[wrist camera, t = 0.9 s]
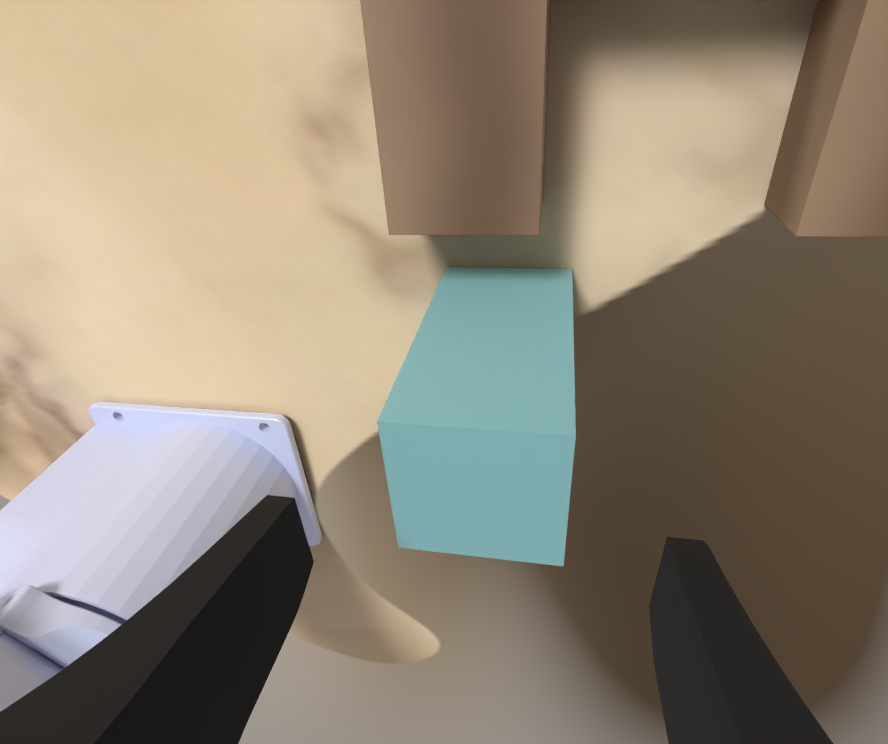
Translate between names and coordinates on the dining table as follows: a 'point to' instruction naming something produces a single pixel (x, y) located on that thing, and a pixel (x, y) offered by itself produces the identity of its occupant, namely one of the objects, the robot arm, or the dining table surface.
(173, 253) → the dining table surface
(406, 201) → the u-shaped block
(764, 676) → the robot arm
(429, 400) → the peg
